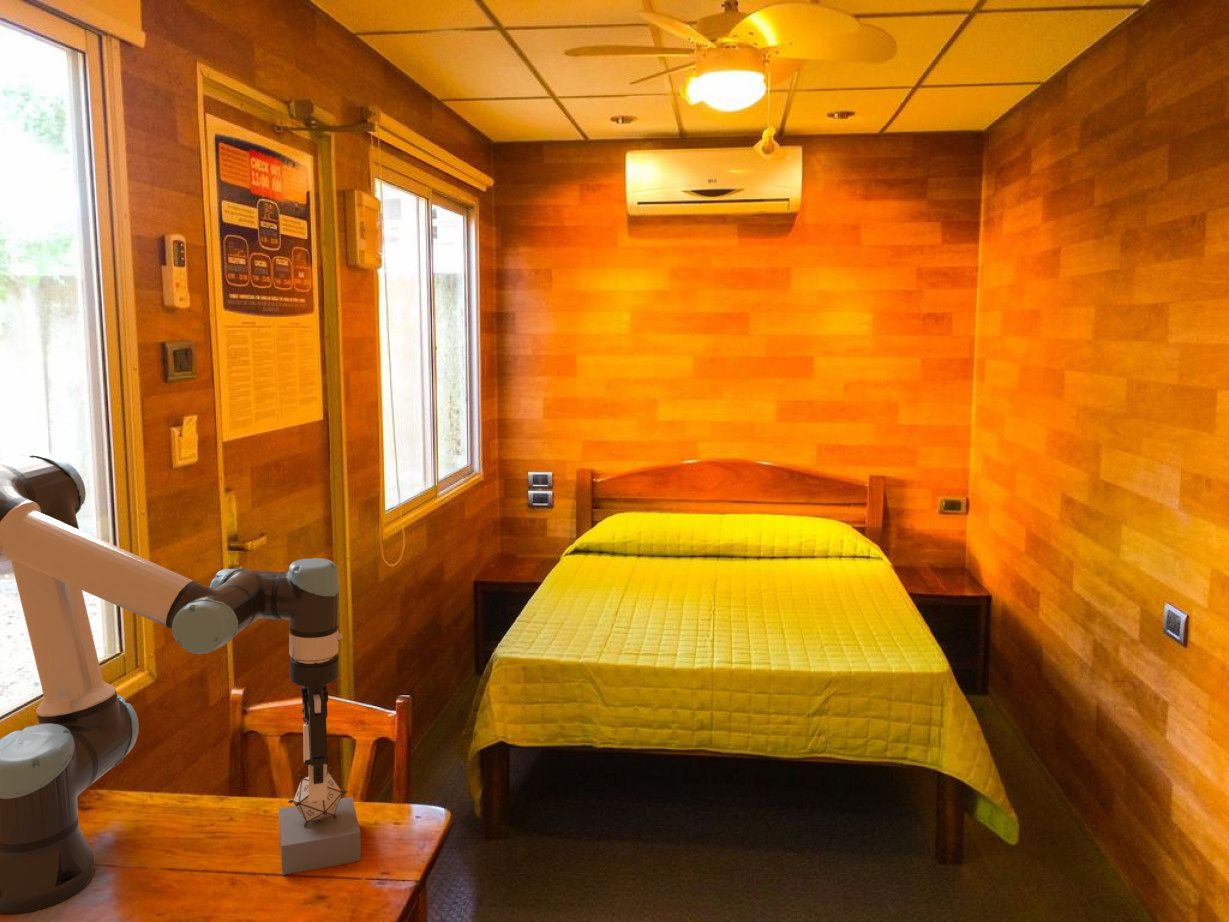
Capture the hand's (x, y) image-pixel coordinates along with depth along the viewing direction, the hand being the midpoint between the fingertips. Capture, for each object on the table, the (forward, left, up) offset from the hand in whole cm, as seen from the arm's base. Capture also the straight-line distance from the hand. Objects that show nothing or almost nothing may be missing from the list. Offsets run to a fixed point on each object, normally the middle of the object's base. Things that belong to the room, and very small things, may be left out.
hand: (314, 779), depth 153 cm
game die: (0, 0, -7) cm, 7 cm away
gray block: (0, 0, -12) cm, 12 cm away
